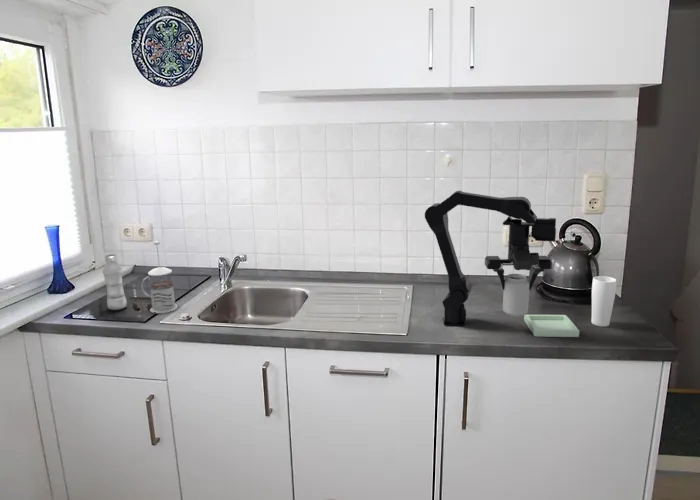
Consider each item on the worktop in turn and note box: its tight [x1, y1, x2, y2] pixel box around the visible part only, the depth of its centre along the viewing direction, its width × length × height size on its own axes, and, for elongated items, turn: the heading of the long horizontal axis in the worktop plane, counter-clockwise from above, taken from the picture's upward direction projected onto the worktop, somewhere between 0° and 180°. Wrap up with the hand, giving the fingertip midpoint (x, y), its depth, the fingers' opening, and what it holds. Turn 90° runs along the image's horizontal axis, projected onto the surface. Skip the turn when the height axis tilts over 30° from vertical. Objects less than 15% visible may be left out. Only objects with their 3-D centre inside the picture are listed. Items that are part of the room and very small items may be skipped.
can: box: [502, 273, 530, 317], centre depth 159 cm, size 8×8×12 cm
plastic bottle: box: [102, 253, 127, 311], centre depth 185 cm, size 6×7×20 cm
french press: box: [140, 240, 179, 314], centre depth 184 cm, size 10×12×25 cm
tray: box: [523, 314, 580, 338], centre depth 162 cm, size 13×13×2 cm
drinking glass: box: [590, 275, 617, 328], centre depth 163 cm, size 7×7×15 cm
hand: (516, 289), depth 159 cm, fingers closed on can, 7 cm apart
